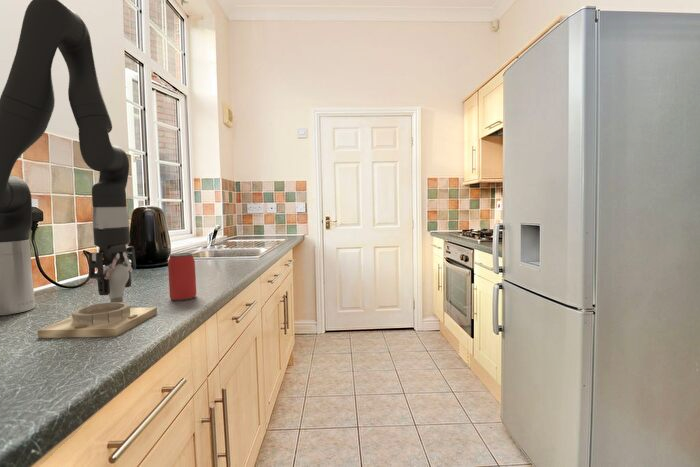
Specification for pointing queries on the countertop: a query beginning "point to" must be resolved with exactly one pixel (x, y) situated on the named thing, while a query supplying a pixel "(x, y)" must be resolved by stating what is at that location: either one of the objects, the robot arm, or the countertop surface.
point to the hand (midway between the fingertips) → (116, 290)
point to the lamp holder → (98, 321)
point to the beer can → (182, 276)
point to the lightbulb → (118, 282)
